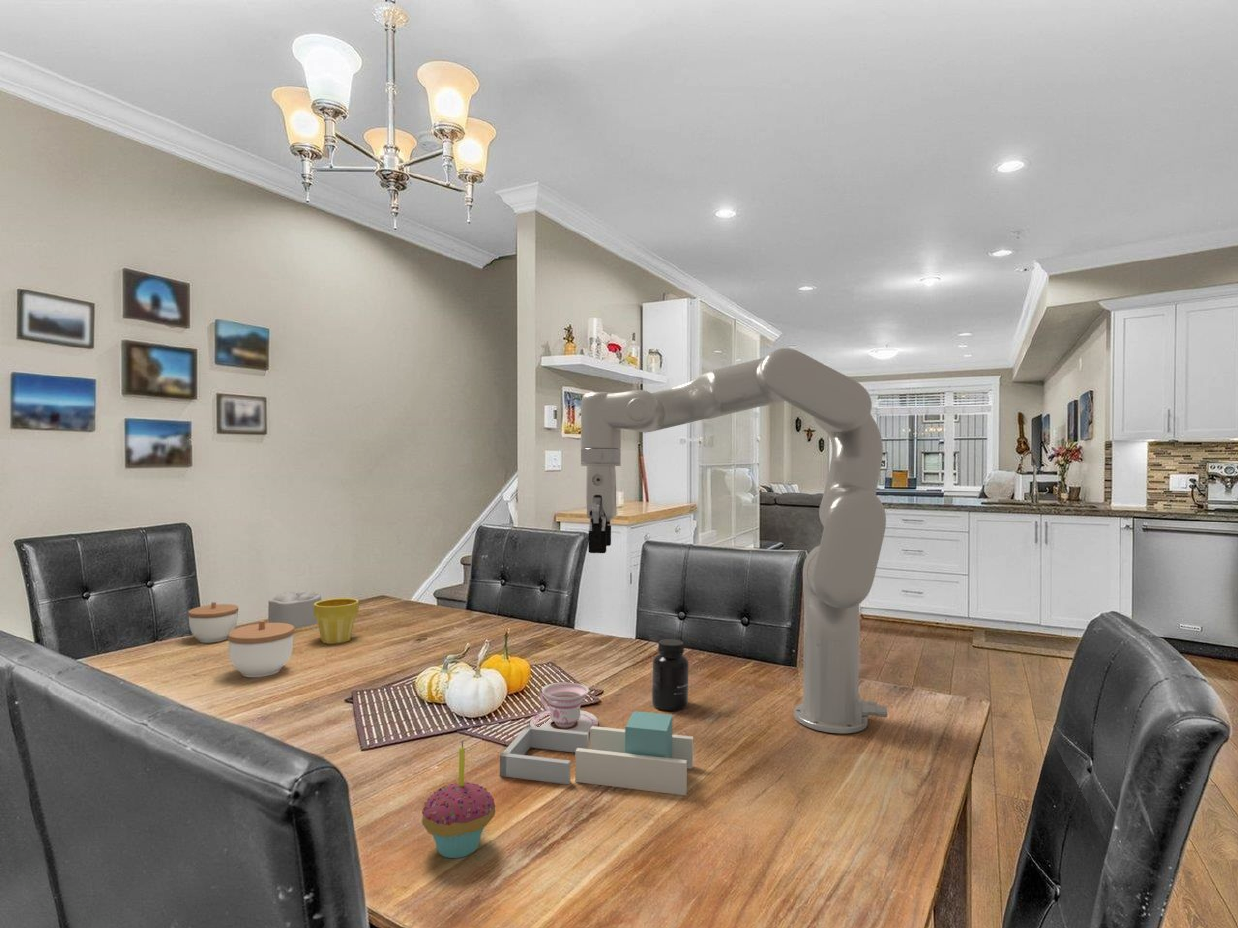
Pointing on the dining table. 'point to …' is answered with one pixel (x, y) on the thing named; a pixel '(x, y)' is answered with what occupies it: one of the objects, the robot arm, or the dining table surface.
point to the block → (649, 734)
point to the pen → (540, 767)
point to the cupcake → (458, 815)
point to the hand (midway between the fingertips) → (600, 549)
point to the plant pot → (336, 619)
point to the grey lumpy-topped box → (293, 608)
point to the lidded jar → (213, 622)
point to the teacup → (565, 707)
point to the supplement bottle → (670, 676)
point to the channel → (633, 764)
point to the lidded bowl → (261, 648)
